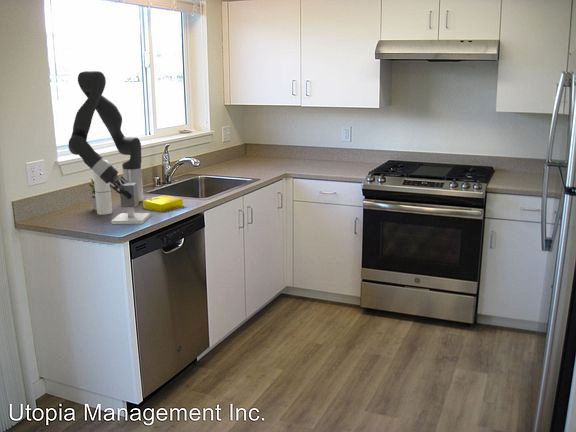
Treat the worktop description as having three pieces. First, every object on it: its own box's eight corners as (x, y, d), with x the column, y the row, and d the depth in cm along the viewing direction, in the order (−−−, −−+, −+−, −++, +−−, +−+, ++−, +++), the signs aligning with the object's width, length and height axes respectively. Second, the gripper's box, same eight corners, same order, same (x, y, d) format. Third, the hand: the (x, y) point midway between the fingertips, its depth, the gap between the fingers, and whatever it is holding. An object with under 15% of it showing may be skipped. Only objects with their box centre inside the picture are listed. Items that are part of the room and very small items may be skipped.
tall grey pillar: (125, 204, 275) (123, 182, 272) (138, 204, 275) (137, 182, 272) (121, 207, 269) (119, 185, 266) (134, 207, 268) (133, 185, 266)
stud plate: (120, 216, 280) (119, 198, 278) (150, 216, 280) (149, 198, 278) (111, 224, 267) (109, 205, 265) (142, 223, 266) (140, 205, 264)
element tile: (162, 212, 288) (161, 203, 286) (141, 209, 296) (141, 199, 295) (185, 206, 299) (184, 197, 298) (164, 203, 308) (163, 194, 307)
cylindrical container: (114, 210, 291) (109, 160, 285) (110, 214, 284) (105, 162, 278) (99, 211, 291) (94, 160, 285) (95, 214, 284) (90, 162, 278)
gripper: (105, 167, 260) (133, 194, 263) (115, 162, 274) (142, 187, 277) (94, 179, 262) (123, 205, 264) (104, 173, 276) (132, 198, 278)
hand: (132, 196), depth 271 cm, fingers closed on tall grey pillar, 6 cm apart
